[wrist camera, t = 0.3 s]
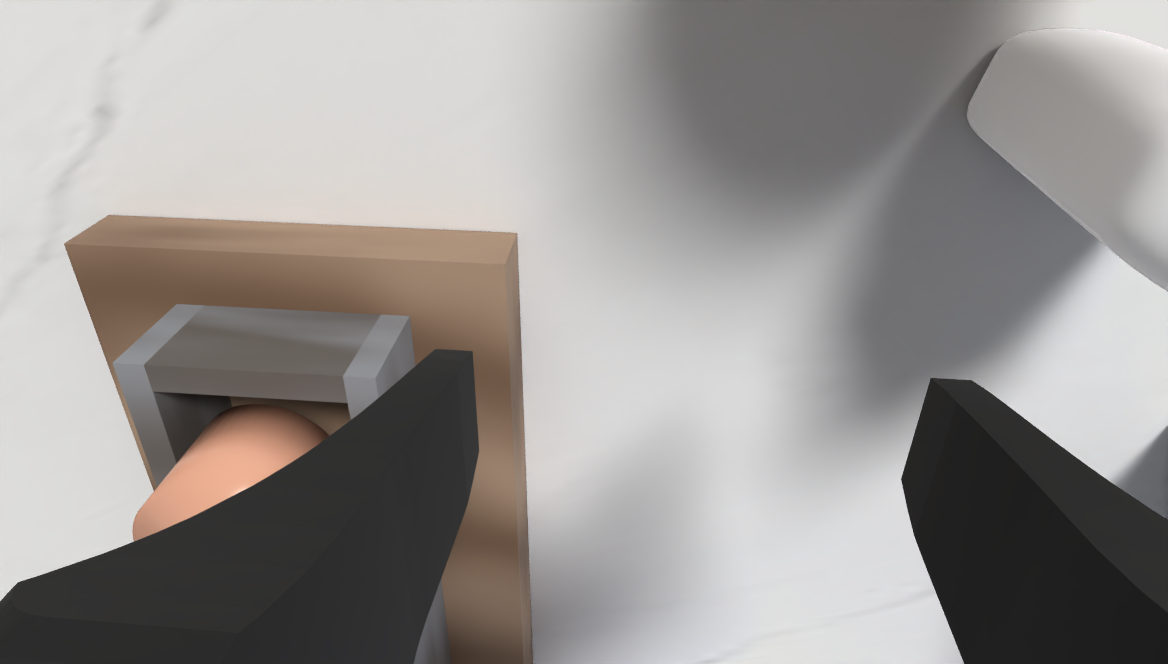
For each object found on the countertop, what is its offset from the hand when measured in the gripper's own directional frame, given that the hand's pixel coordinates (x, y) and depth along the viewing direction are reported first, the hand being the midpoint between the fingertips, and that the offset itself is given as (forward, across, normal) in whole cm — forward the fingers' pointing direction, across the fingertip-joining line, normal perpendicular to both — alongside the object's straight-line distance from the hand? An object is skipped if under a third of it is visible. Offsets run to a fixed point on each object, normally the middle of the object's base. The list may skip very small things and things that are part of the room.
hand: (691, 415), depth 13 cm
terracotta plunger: (+5, +10, +6) cm, 13 cm away
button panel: (+10, +10, +11) cm, 18 cm away
